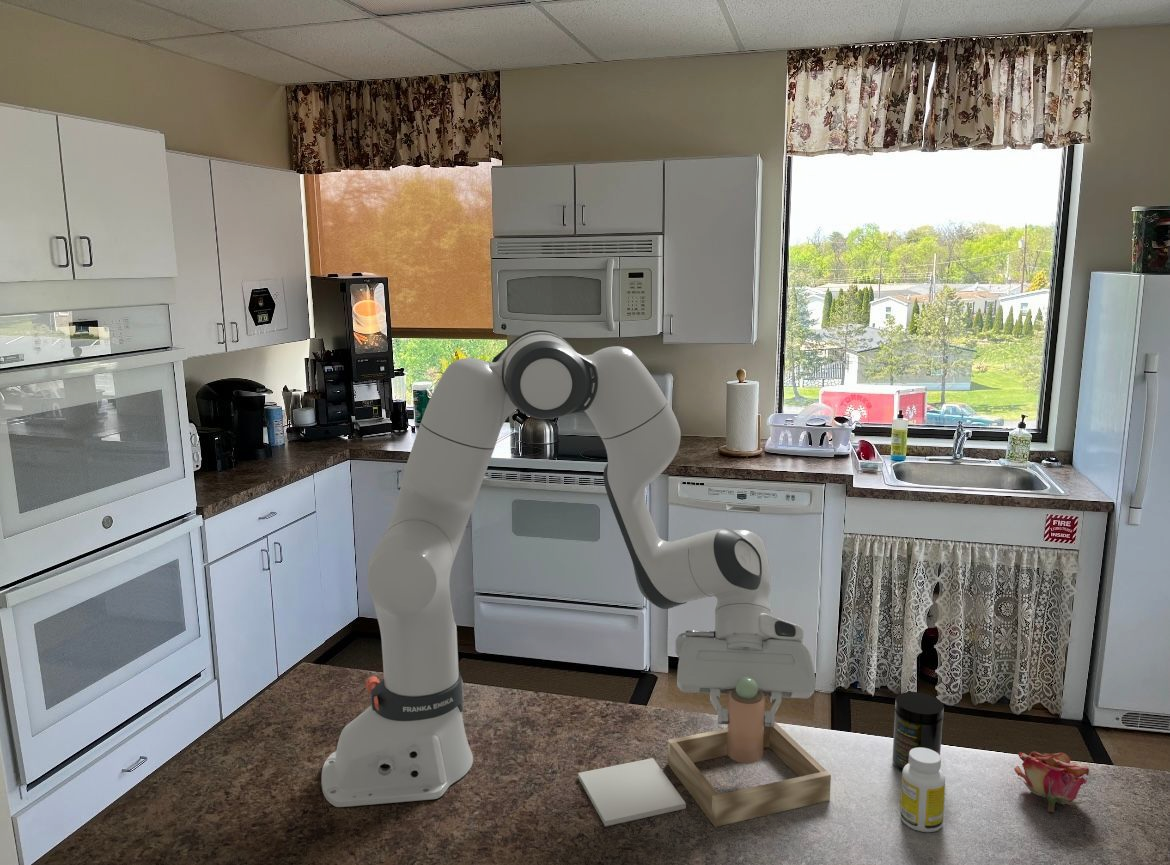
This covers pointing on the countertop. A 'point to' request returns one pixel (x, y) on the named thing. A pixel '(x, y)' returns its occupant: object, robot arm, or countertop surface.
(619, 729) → the countertop surface
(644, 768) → the paving tile
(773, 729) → the brown wooden rectangular frame
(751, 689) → the peach bottle
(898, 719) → the supplement container
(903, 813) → the supplement bottle
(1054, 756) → the flower
